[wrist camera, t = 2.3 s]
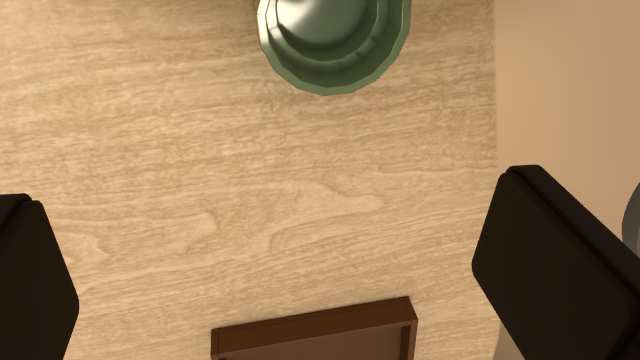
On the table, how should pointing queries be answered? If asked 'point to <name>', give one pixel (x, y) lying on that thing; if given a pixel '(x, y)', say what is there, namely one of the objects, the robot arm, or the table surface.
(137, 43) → the table surface
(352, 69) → the bowl
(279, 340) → the tray
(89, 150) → the table surface
